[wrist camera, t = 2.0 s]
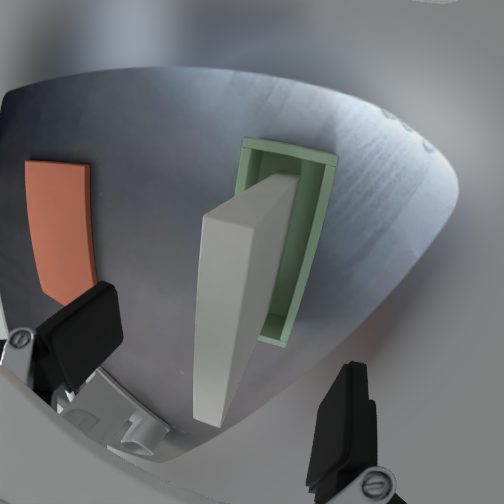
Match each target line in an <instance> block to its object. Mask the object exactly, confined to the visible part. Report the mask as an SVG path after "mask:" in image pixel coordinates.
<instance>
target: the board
mask: <svg viewBox="0 0 504 504" xmlns="http://www.w3.org/2000/svg"><path fill="white" fill-rule="evenodd" d="M300 179H301V174H297V173H293V172H288V171H284V170H280V171H279V172H277V173H275V174H273V175H271V176H270V177H268V178H266V179H264V180H263V181H261V182H259V183H257V184H256V185H254V186H252V187H250V188H249V189H247V190H245V191H243V192H242V193H240V194H238V195H237V196H235V197H233V198H232V199H230V200H228V201H227V202H225V203H223V204H222V205H220V206H218V207H217V208H215V209H213V210H212V211H210V212H208V213H207V214H205V215H204V216H203V224H202V234H201V246H200V257H199V270H198V284H197V300H196V319H195V342H194V382H193V418H194V419H197V420H199V421H202V422H205V423H207V424H210V425H213V426H216V427H218V428H220V427H221V425H222V423H223V421H224V418H225V416H226V414H227V412H228V409H229V407H230V405H231V402H232V400H233V398H234V395H235V393H236V391H237V388H238V386H239V384H240V381H241V379H242V376H243V374H244V372H245V369H246V367H247V364H248V362H249V359H250V357H251V355H252V352H253V350H254V347H255V345H256V342H257V340H258V337H259V335H260V332H261V330H262V327H263V324H264V322H265V319H266V317H267V314H268V312H269V309H270V306H271V304H272V301H273V298H274V294H275V290H276V285H277V281H278V277H279V273H280V269H281V265H282V260H283V256H284V252H285V248H286V243H287V239H288V234H289V230H290V225H291V221H292V216H293V212H294V207H295V203H296V198H297V193H298V189H299V184H300Z"/></svg>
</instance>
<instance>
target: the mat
mask: <svg viewBox="0 0 504 504" xmlns="http://www.w3.org/2000/svg"><path fill="white" fill-rule="evenodd" d="M25 182H26V197H27V209H28V218H29V225H30V232H31V239H32V245H33V250H34V255H35V260H36V265H37V270H38V274H39V278H40V282H41V286H42V290H43V292H44V293H46V294H47V295H49V296H50V297H52V298H53V299H55V300H56V301H58V302H59V303H61V304H63V305H64V306H66V305H68V304H69V303H70V302H72V301H73V300H75V299H76V298H77V297H79V296H80V295H81V294H83V293H84V292H86V291H87V290H89V289H90V288H91V287H93V286H94V285H96V284H97V276H96V268H95V260H94V251H93V241H92V228H91V210H90V165H85V164H75V163H64V162H51V161H37V160H27V161H25Z"/></svg>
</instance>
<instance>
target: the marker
mask: <svg viewBox="0 0 504 504" xmlns="http://www.w3.org/2000/svg"><path fill="white" fill-rule="evenodd" d="M66 393H67V396H68V398H69V401H70V402H71V401H72V400H73V398H74V397H75V394H74V391H72V392H71V393H70V394H69V393H68V392H67V391H66Z"/></svg>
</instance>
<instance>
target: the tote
mask: <svg viewBox="0 0 504 504" xmlns="http://www.w3.org/2000/svg"><path fill="white" fill-rule="evenodd" d="M338 159H339V156H337V155H336V154H333V153H329V152H325V151H321V150H316V149H312V148H308V147H303V146H299V145H294V144H289V143H284V142H279V141H273V140H268V139H262V138H253V137H244V138H243V144H242V150H241V157H240V163H239V169H238V176H237V182H236V189H235V196H237V195H238V194H240V193H242V192H243V191H245V190H247V189H249V188H250V187H252V186H254V185H256V184H257V183H259V182H261V181H263V180H264V179H266V178H268V177H270V176H271V175H273V174H275V173H277V172H279V171H280V170H284V171H288V172H293V173H297V174H301V179H300V184H299V189H298V193H297V198H296V203H295V207H294V212H293V216H292V221H291V225H290V230H289V234H288V239H287V243H286V248H285V252H284V256H283V260H282V265H281V269H280V273H279V277H278V281H277V285H276V290H275V294H274V298H273V301H272V304H271V306H270V309H269V312H268V314H267V317H266V319H265V322H264V324H263V327H262V330H261V332H260V335H259V337H258V340H260V341H263V342H266V343H270V344H273V345H277V346H281V347H284V348H285V347H286V345H287V342H288V339H289V336H290V333H291V330H292V327H293V324H294V321H295V318H296V315H297V312H298V309H299V306H300V303H301V299H302V296H303V293H304V290H305V286H306V283H307V280H308V276H309V273H310V270H311V266H312V263H313V259H314V256H315V252H316V248H317V245H318V241H319V237H320V234H321V230H322V226H323V222H324V218H325V214H326V210H327V206H328V202H329V198H330V194H331V190H332V186H333V181H334V177H335V173H336V166H337V163H338ZM235 196H234V197H235Z"/></svg>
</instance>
